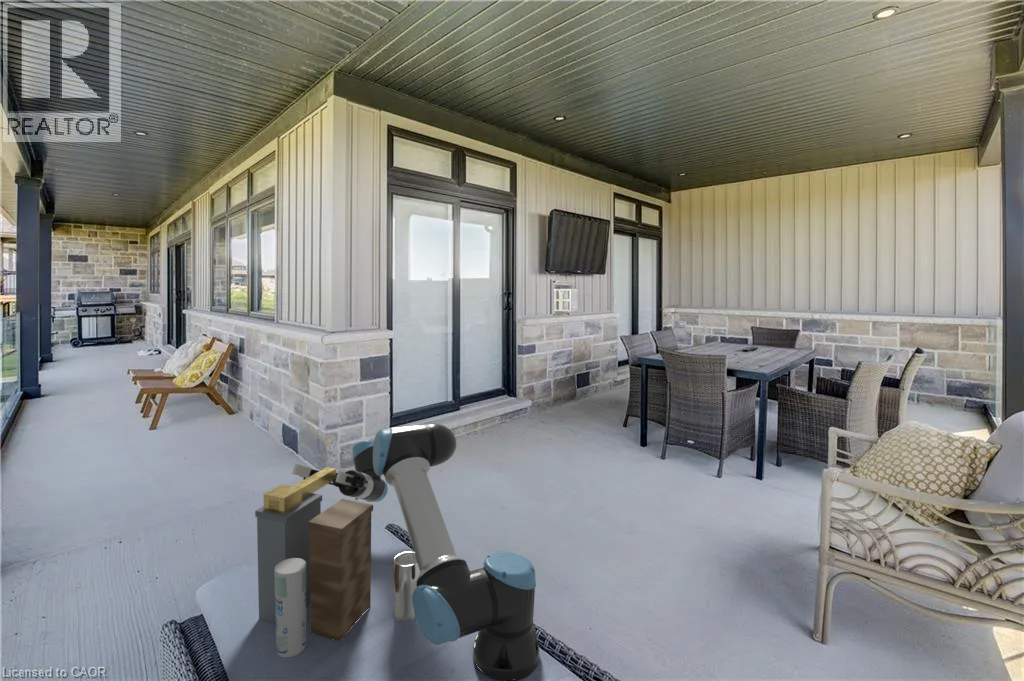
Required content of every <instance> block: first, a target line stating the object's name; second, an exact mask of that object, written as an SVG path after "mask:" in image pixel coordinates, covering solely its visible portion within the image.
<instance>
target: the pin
mask: <svg viewBox="0 0 1024 681" xmlns="http://www.w3.org/2000/svg"><path fill="white" fill-rule="evenodd" d="M318 471H319V472H317V473H315V474H314V475H312V476H310V477H308V478H306V479H304V480H303V479H302V480H301V481H299V482H297V483H295V484H294V485H292V486H291V485H285V484H280V485H278V486H276V487H274V488H272V489H271V490H269V491H266V492H265V493H263V494H262V495H263V506H264V510H267V511H272V512H276V513H281V514H286V513H287V512H289V511H291V510H292V509H294V508H295V507H297V506H299V505H300V504H302V499H304V498H305V497H307V496H309V495H310V494H312V493H314V494H315V492H317V491H318V490H320V489H323V488H324V487H325V486H327V485H330V484H329V483H330V482H331V483H333V482H332V481H334V480H335V479H336V473H337V468H335V467H328V466H326V467H324V468H322V469H321V470H318Z"/></svg>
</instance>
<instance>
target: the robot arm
mask: <svg viewBox="0 0 1024 681" xmlns="http://www.w3.org/2000/svg"><path fill="white" fill-rule="evenodd" d="M456 448H457V438H456V436H455V434H454V432H453V431H452V430H451V429H450V428H449V427H447V426H446V425H442V424H440V423H425V424H415V425H408V426H398V427H394V426H391V427H389V428H385V429H380V430H378V431H377V433H376V434H375V437H374V439H373V440H367V439H366V440H365V439H364V440H362V441H358V442H356V443H355V444H354V445H353V446H352V460H353V464H354V465H353V466H354V469H349V470H347V471H345V472H344V471H338V472H336V479H335V480H334V481H332V482H330V483H329V484H328V485H331V486H334V487H336V488H338V490H339V492H340V493H341V494H342V495H343V496H346V497H350V498H351V497H352V498H354V501H358V500H363V501H366V502H371V503H378V502H381V501H382V500H384V498H386V496H387V493H388V490H389V488H388V486H391V487H393V488H394V492H395V495H396V497H397V500H398V504H399V508H400V511H401V513H402V517H403V520H404V523H405V527H406V530H407V534H408V536H409V539H410V542H411V546H412V549H413V552H414V553H415V557H416V560H417V563H418V566H419V570H420V575H419V577H418V579H417V581H416V585H417V588H415V590H414V592H413V596H412V602H413V607H414V614H415V618H414V619H415V620H416V623H417V625H418V627H419V630H420V632H421V633H422V635H423V637H424V638H425V639H426V640H427V641H429V642H430V643H431V644H433V645H443V644H445V643H449V642H456V641H458V639H460V638H463V637H466V636H469V635H471V634H474V633H477V632H478V633H477V635H476V637H475V639H474V641H473V647H472V648H473V649H472V650H473V651H472V659H473V662H474V664H475V663H476V664H477V666H478V667H479V668H480V669H481V670H482V671H483V672H484V673H485V674H484V675H485V676H486V675H487V677H489V678H491V679H494V680H496V681H497V680H498V681H501V680H502V681H503V680H513V679H518V680H521V679H524V678H525V677H528V676H529V675H530V674H532V673H533V672H534V671H535V669H536V668H537V666H538V664H539V660H540V646H539V644H540V643H539V640H538V638H537V634H536V630H535V628H534V614H535V613H534V612H535V609H534V608H535V596H536V594H535V592H536V586H537V582H536V570H535V566H534V565H533V563H532V562H531V560H529V559H528V558H526V557H524V556H523V555H521V554H518V553H514V552H511V551H494V552H491V553H489V554H488V555H487V556H486V557H485V558H484V561H483V567H481V568H477V569H473V570H470V568H469V566H468V564H467V561H466V559H465V558H461V557H459V556H457V553H456V551H455V548H454V544H453V542H452V540H451V537H450V534H449V530H448V528H447V526H446V523H445V521H444V518H443V514H442V511H441V509H440V506H439V504H438V501H437V499H436V496H435V492H434V490H433V487H432V484H431V481H430V479H429V476H428V473H429V471H430V468H431V467H436V466H439V465H441V464H444V463H446V462H448V460H450V459H451V458H452V457H453V455H454V454H455V453H456ZM319 471H320V470H317V469H314V468H313V469H312V468H311V467H309V466H305V465H302V464H299V463H295V464H294V467H293V470H292V472H291V475H295V476H299V477H301V478H303V479H302V481H303V480H304V479H306V478H308V477H310V476H312V475H314V474H315V473H317V472H319ZM382 476H383V477H384V479H385V480H383V479H382ZM477 666H476V667H477Z"/></svg>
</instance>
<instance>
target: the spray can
mask: <svg viewBox="0 0 1024 681" xmlns="http://www.w3.org/2000/svg"><path fill="white" fill-rule="evenodd" d="M274 572H275V615H276V624H275V647H276V648H275V650H276V654H277V655H278V656H279V657H281V658H293V657H295V656H297V655H299V654H301V653H302V652H303V651H304V650H305V648H306V645H307V608H306V562H305V561H304V560H303V559H300V558H290V559H286V560H283V561H281V562H279V563H278V564H277V565H276V566H275V570H274Z"/></svg>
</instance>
